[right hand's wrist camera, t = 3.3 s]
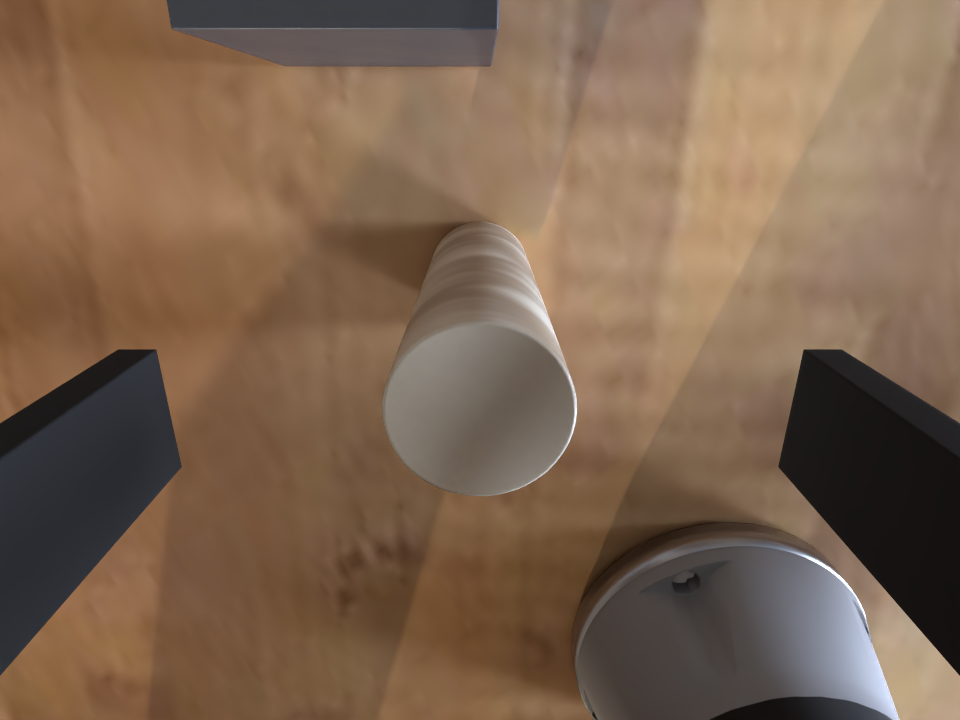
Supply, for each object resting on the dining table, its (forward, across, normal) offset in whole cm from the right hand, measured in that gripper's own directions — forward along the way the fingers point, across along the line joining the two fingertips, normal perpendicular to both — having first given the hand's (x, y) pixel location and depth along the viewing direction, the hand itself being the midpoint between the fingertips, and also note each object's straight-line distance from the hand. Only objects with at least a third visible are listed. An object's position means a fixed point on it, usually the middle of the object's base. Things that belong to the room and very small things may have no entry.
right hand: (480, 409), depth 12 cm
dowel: (+14, 0, 0) cm, 14 cm away
